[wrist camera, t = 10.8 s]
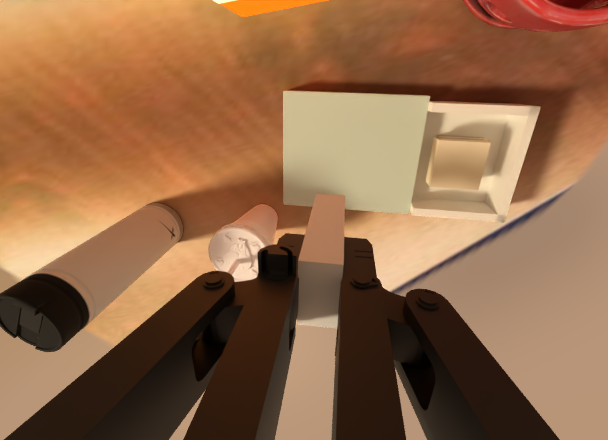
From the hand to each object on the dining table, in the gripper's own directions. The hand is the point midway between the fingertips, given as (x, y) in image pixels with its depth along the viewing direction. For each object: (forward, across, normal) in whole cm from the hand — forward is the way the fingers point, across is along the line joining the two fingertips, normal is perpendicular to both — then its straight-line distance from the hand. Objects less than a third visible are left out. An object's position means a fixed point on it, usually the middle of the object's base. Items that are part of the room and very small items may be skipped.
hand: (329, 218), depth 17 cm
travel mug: (+20, -23, -12) cm, 33 cm away
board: (+20, +1, -1) cm, 20 cm away
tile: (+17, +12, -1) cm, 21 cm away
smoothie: (+20, -9, -10) cm, 24 cm away
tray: (+20, +13, -1) cm, 24 cm away
